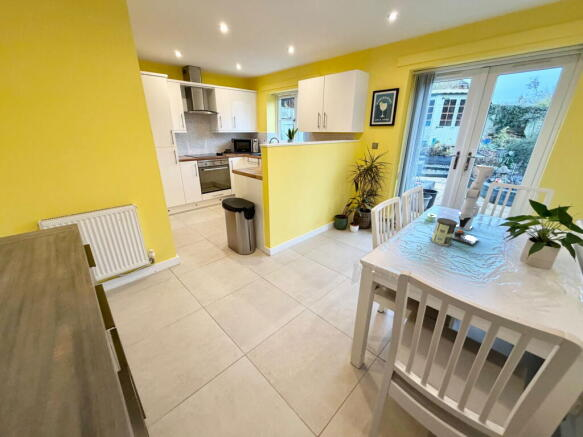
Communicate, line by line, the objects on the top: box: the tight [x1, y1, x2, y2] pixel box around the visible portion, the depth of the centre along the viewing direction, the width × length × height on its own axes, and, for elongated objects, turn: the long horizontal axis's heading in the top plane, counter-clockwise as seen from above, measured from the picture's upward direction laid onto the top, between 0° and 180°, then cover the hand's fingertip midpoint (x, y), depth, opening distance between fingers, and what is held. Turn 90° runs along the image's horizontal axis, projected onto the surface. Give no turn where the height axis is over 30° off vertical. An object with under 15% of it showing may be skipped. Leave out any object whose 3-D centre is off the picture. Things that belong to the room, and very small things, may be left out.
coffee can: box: [431, 217, 458, 246], centre depth 139 cm, size 10×10×14 cm
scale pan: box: [461, 234, 476, 241], centre depth 141 cm, size 8×8×1 cm
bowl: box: [426, 213, 437, 223], centre depth 173 cm, size 5×5×4 cm
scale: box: [451, 229, 479, 247], centre depth 145 cm, size 13×13×3 cm
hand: (461, 227), depth 148 cm, fingers closed
